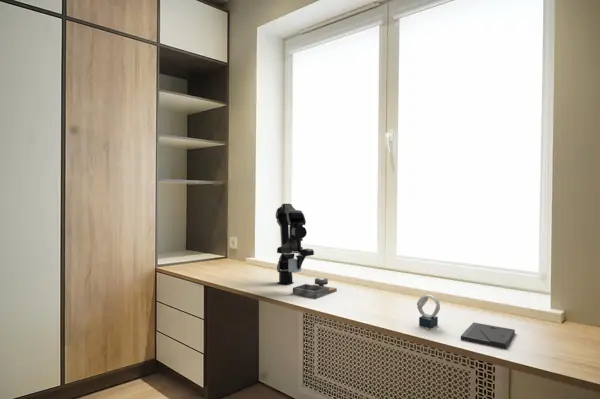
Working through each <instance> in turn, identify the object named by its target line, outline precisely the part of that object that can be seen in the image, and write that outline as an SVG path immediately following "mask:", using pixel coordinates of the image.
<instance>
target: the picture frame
mask: <svg viewBox="0 0 600 399" xmlns="http://www.w3.org/2000/svg"><path fill="white" fill-rule="evenodd" d="M515 332H516V331H515V329H513V328H509V327H501V326H498V325H497V326H496V325H492V324H491V325H490V324H485V323H478V322H474V321H473V322H472V324H470V326H469V327H468V328H466V329H465V331H464V332H463V333H462V334H461V335H460V341H463V342H470V343H475V344H479V345H483V346H489V347H492V348H493V347H495V348H498V349H502V350H503V349H504V350H506V349H508V346H509V344H510V343H511V341H512V339H513V337H514V335H515V334H516V333H515Z"/></svg>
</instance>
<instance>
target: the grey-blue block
mask: <svg viewBox="0 0 600 399" xmlns="http://www.w3.org/2000/svg"><path fill="white" fill-rule="evenodd" d="M288 272H292V274H295V273H300V272H302V266H301V267H300V269H299V270H298V268H297V257H294V258H293V259H288Z"/></svg>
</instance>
